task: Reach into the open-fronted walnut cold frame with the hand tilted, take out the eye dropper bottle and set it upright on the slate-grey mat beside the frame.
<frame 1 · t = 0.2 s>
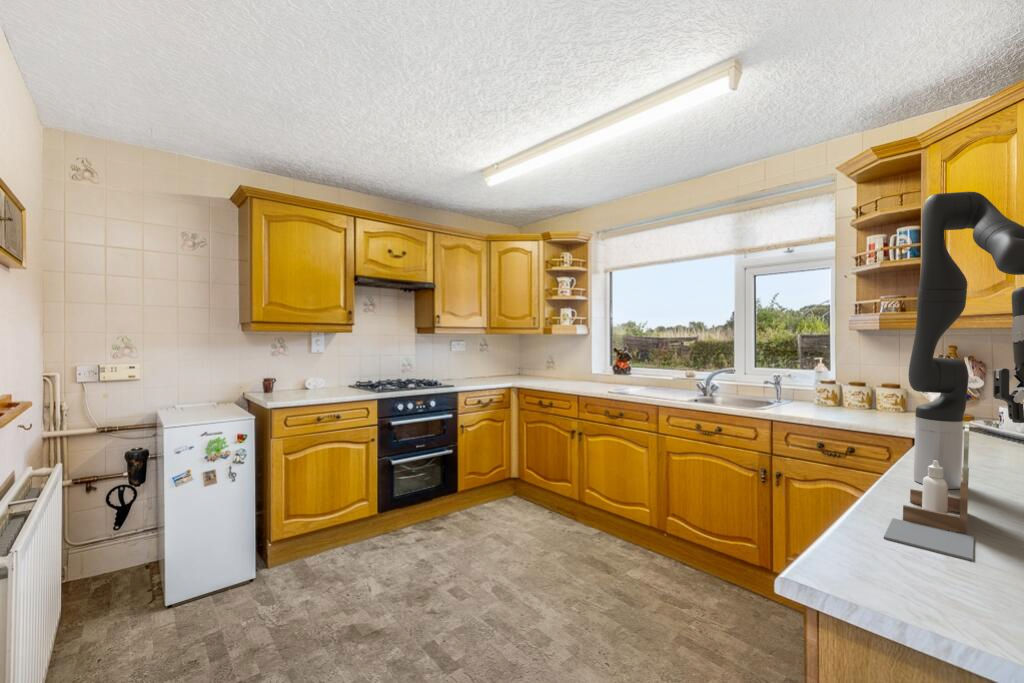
eye dropper bottle: (934, 517, 99), resting in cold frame
slate mat: (928, 538, 88), on the countertop
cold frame: (934, 516, 99), on the countertop
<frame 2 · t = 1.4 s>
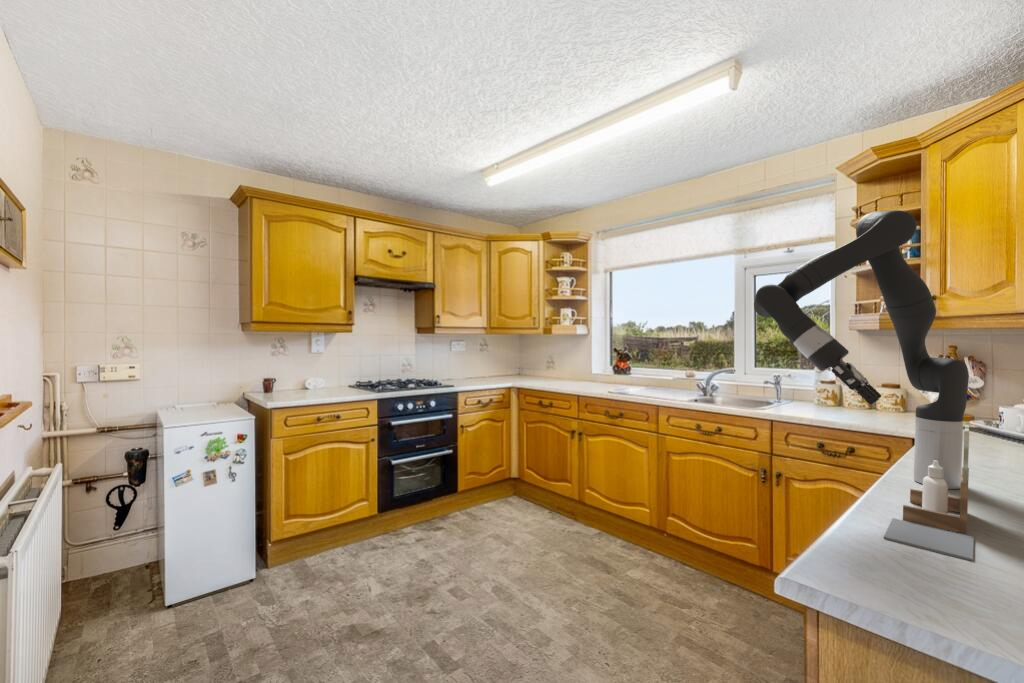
hand: (876, 400, 106), 24 cm above the countertop, tool tilted 45°, fingers open, 8 cm apart
nothing on the countertop moved.
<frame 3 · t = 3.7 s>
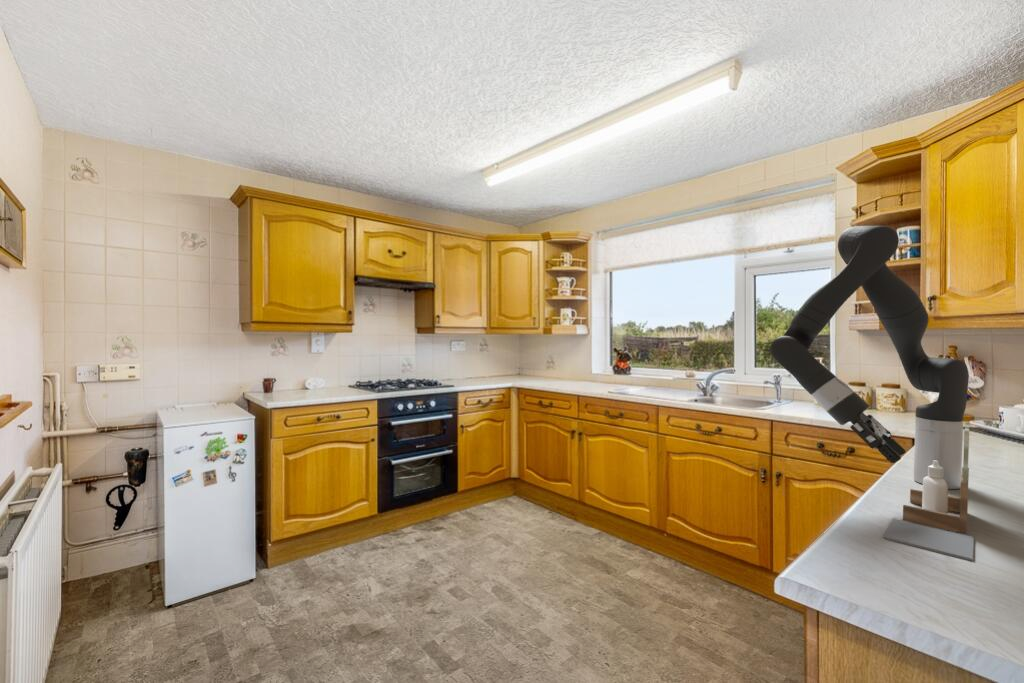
hand: (899, 457, 103), 11 cm above the countertop, tool tilted 45°, fingers open, 8 cm apart
nothing on the countertop moved.
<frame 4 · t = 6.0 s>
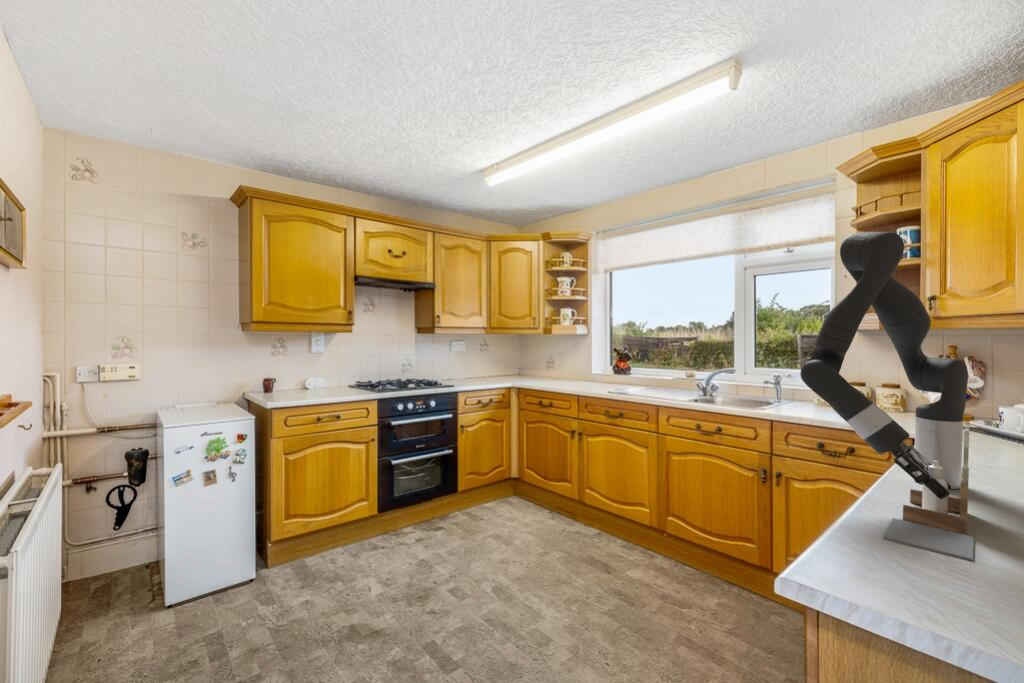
hand: (946, 493, 98), 5 cm above the countertop, tool tilted 45°, fingers closed on eye dropper bottle, 5 cm apart
eye dropper bottle: (934, 517, 99), resting in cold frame, touching gripper
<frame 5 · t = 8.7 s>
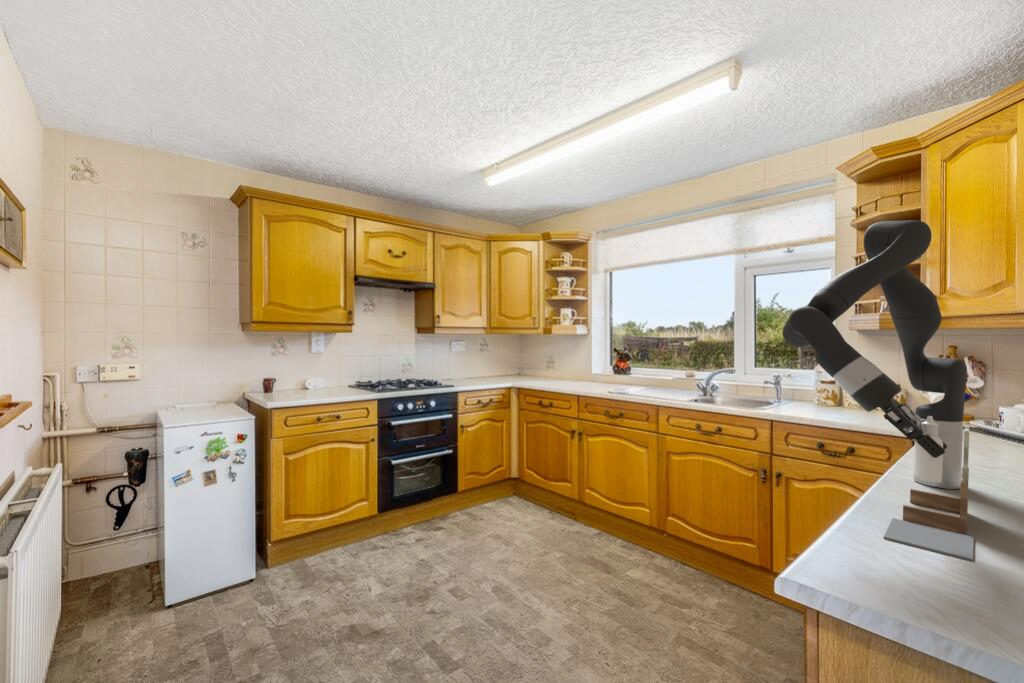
hand: (941, 452, 87), 17 cm above the countertop, tool tilted 45°, fingers closed on eye dropper bottle, 5 cm apart
eye dropper bottle: (927, 479, 89), point 11 cm above the countertop, touching gripper
when the fingers open (7 cm above the countertop, at t = 11.6 s): eye dropper bottle stays where it is, resting on slate mat.
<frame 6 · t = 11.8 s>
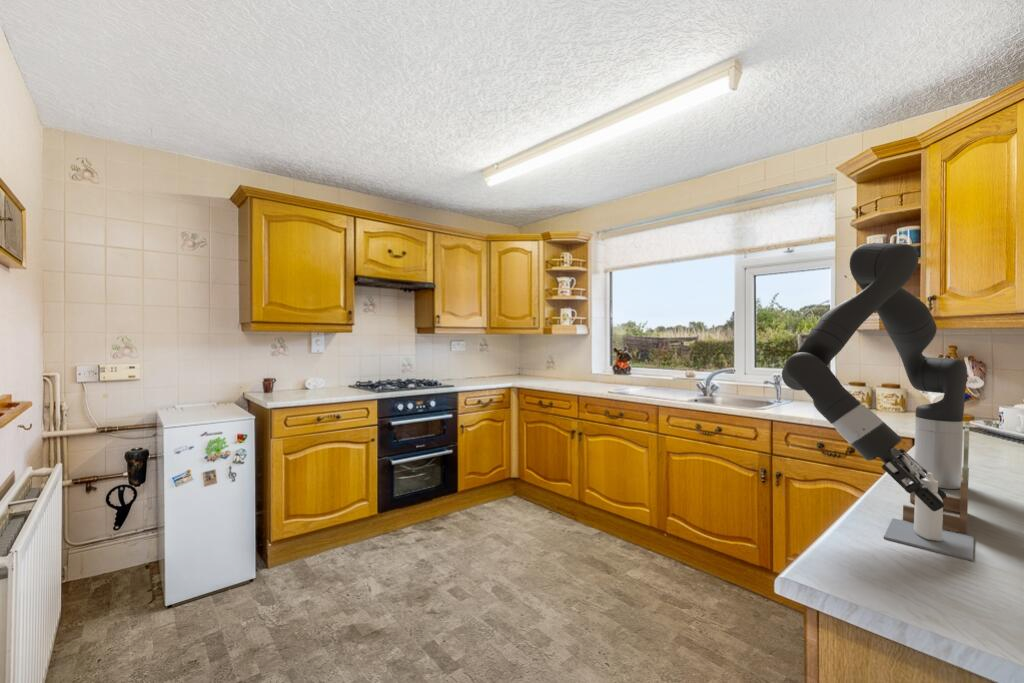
hand: (940, 503, 87), 7 cm above the countertop, tool tilted 45°, fingers open, 7 cm apart
eye dropper bottle: (927, 536, 88), resting on slate mat
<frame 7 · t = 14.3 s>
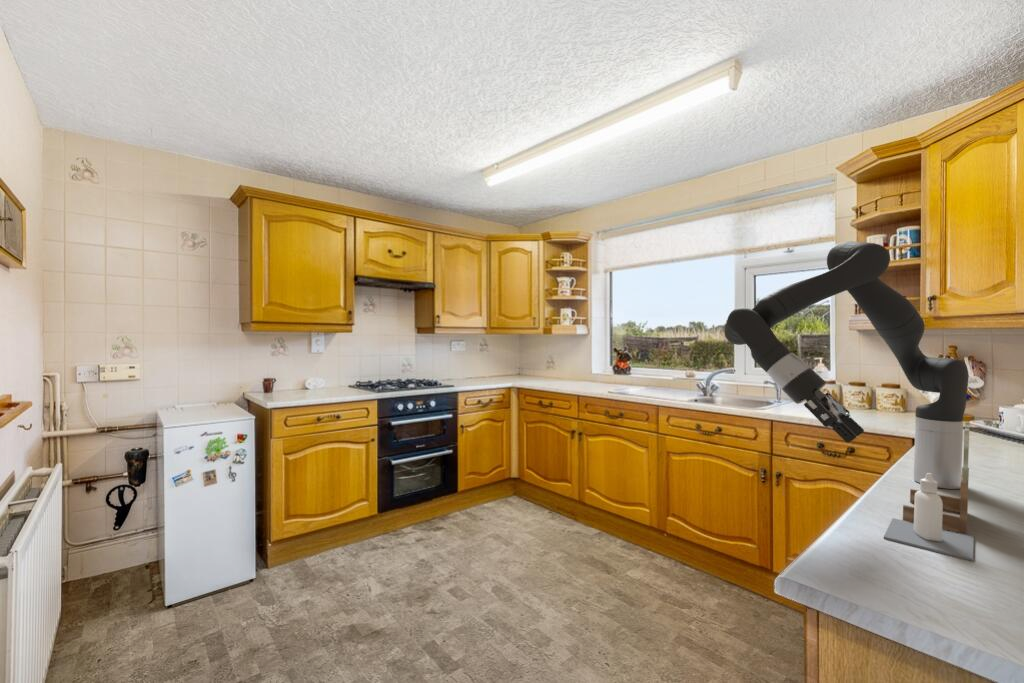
hand: (856, 437, 96), 17 cm above the countertop, tool tilted 45°, fingers open, 8 cm apart
nothing on the countertop moved.
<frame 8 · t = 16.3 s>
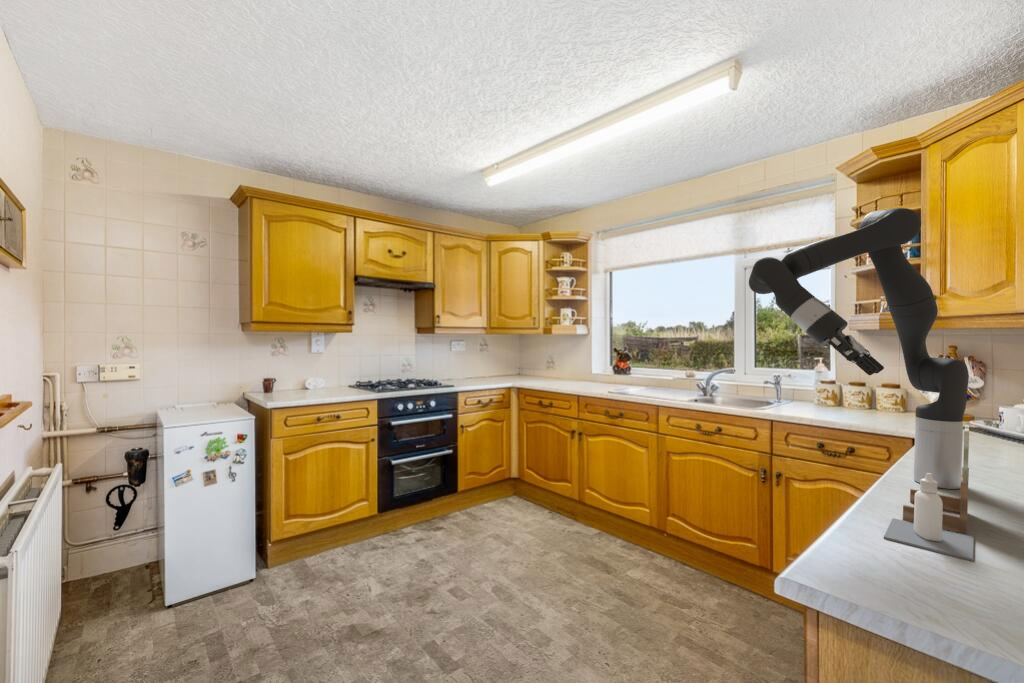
hand: (877, 371, 102), 31 cm above the countertop, tool tilted 45°, fingers open, 8 cm apart
nothing on the countertop moved.
at the end: eye dropper bottle inside the target area on the slate mat (0.2 cm from its centre), point 0.2 cm above the slate mat's base; eye dropper bottle tilted 0°; the gripper is holding nothing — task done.
